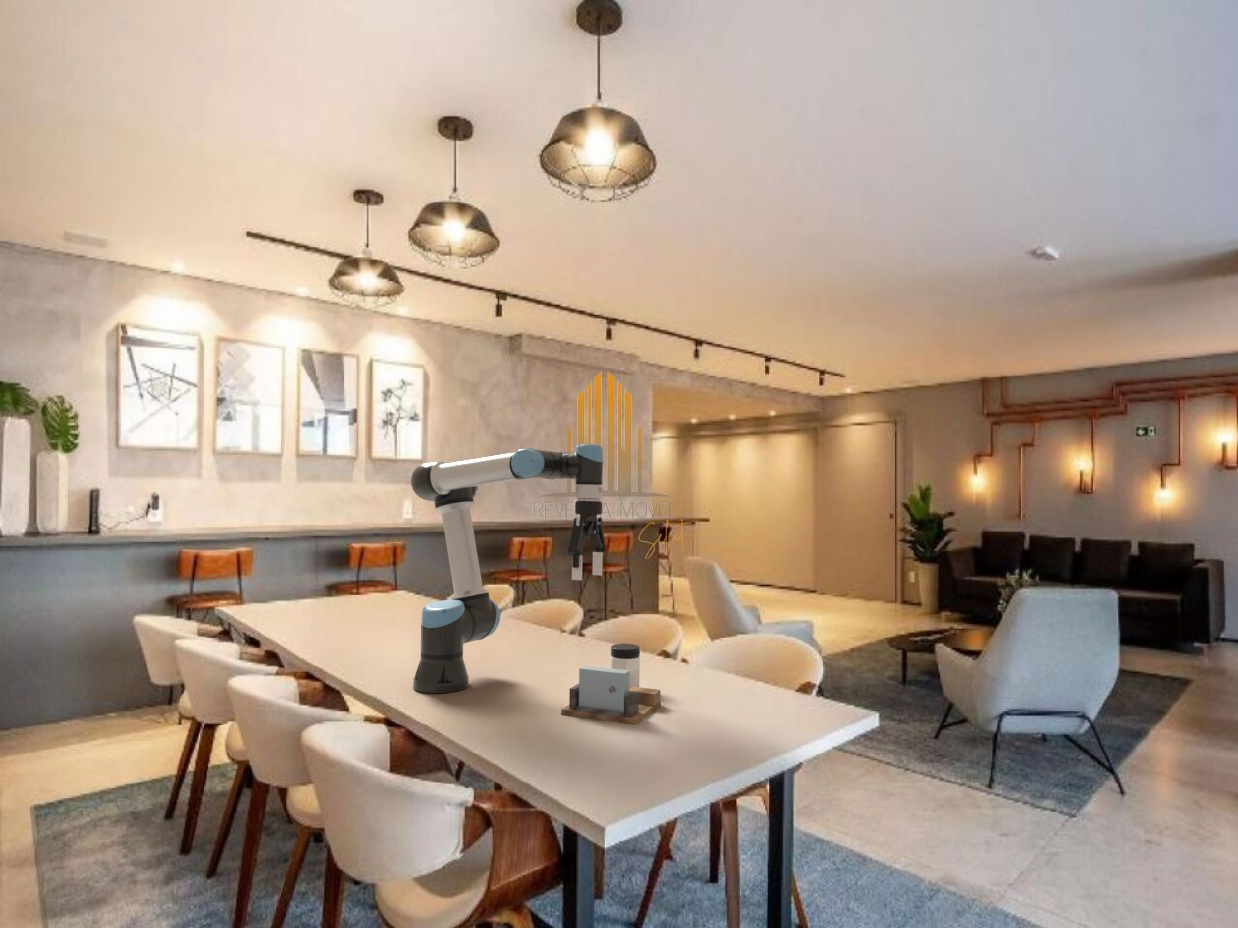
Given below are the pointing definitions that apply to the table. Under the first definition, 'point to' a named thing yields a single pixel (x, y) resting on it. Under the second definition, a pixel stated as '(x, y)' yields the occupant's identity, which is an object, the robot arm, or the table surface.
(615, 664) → the jar
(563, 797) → the table surface
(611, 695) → the door
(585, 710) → the brown piece
